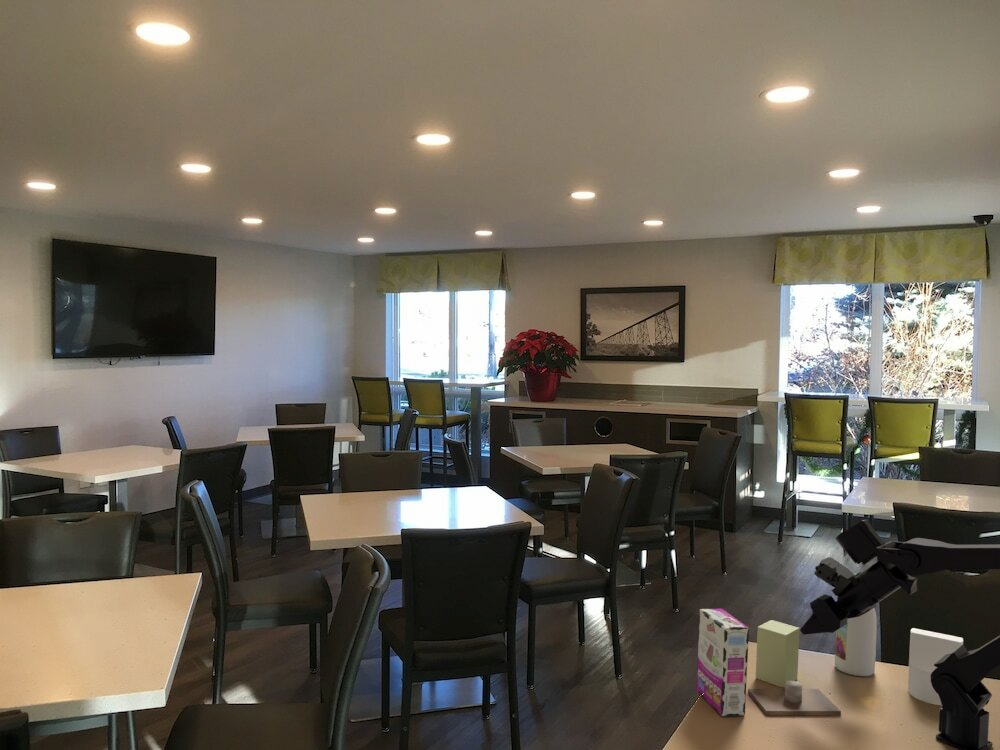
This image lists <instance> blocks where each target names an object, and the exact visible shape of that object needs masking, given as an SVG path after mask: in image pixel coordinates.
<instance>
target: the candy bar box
mask: <svg viewBox="0 0 1000 750" xmlns="http://www.w3.org/2000/svg"><path fill="white" fill-rule="evenodd" d="M698 625H699V626H698V645H697V646H698V649H697V666H696V668H697V671H696V673H697V674H696V692H697V693H698V694H699V695H700V696H701V695H702V694H703V693H704V694H703V695H702V696H701V697H702V698H703V697H704V698H703V699H704V700H705V701H706V702H707V703H708V705H710V706H711V707H712V708H713V709H714V710H715V712H717V713H718V715H720V716H721V717H723V718H725V717H741V716H743V717H744V716H745V715H746V701H747V700H746V699H747V679H748V659H749V656H748V655H749V637H750V636H749V635H750V634H749V633H750V628H749V627H748V626H747V625H745V624H744V623H743V622H741V621H740V620H738V618H736V617H734V616H733V615H731V614H730V613H729V612H727V611H726V610H725V609H723V608H716V607H715V608H700V609H699V624H698Z"/></svg>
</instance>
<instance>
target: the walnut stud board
mask: <svg viewBox="0 0 1000 750" xmlns="http://www.w3.org/2000/svg"><path fill="white" fill-rule="evenodd" d="M747 694H748V695H749V696H750V698H752V700H753V701H754V702H755V703H756V705H757V706H758V707H759V708H760V709H761V711H762V712H763V713H764V714H765V716H842V711H841V709H839V708H838V706H836V705H835V703H833V702H832V701H831V700H830V699H829V698H828V697H827V695H826V694H824V693H823V692H822V691H821V690H820V689H819V688H810V689H808V688H803V684H802V683H801V682H799V681H797V680H795V681H786V683H785V688H748V689H747Z"/></svg>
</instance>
